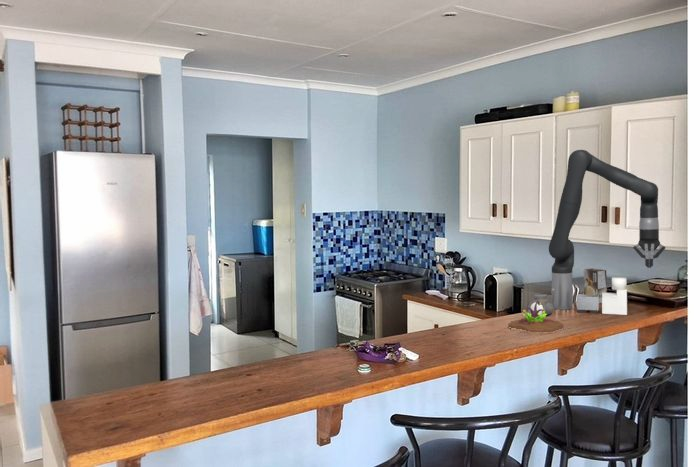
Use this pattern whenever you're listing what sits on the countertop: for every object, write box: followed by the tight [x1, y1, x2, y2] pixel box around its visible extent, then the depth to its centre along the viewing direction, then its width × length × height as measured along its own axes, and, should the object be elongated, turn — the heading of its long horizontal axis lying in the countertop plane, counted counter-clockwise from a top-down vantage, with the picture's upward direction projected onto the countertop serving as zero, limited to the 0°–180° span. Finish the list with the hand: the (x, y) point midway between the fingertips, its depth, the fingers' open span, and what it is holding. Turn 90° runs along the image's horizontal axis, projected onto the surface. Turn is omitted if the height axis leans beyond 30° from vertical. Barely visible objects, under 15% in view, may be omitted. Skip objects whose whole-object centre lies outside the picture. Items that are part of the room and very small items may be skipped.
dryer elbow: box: [601, 276, 628, 316], centre depth 257 cm, size 10×8×16 cm
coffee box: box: [583, 268, 608, 304], centre depth 285 cm, size 9×6×16 cm
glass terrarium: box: [527, 294, 555, 316], centre depth 257 cm, size 12×8×10 cm
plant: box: [507, 301, 564, 333], centre depth 236 cm, size 20×20×11 cm
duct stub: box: [576, 293, 600, 314], centre depth 262 cm, size 9×6×8 cm, turn 65°
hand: (649, 267), depth 251 cm, fingers closed
